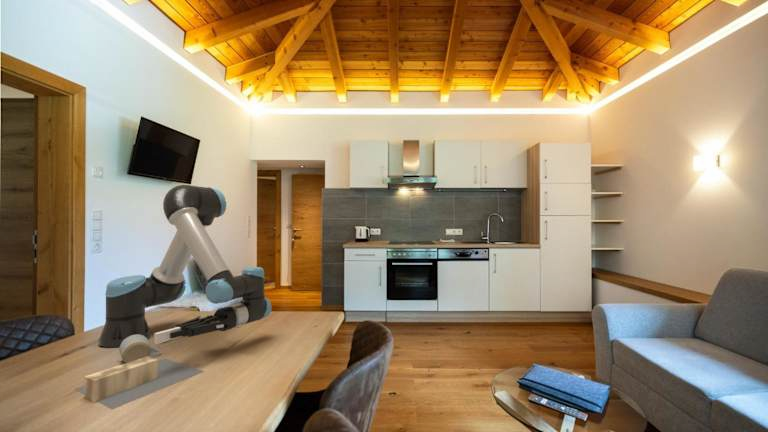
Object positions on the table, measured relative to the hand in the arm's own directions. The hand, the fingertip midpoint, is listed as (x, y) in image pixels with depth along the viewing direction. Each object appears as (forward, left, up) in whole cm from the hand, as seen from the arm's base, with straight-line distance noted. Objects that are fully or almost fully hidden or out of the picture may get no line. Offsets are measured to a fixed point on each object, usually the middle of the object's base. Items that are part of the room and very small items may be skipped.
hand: (155, 338), depth 92 cm
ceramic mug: (-19, +5, -12) cm, 23 cm away
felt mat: (-1, -3, -11) cm, 12 cm away
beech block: (-1, 0, -8) cm, 8 cm away
